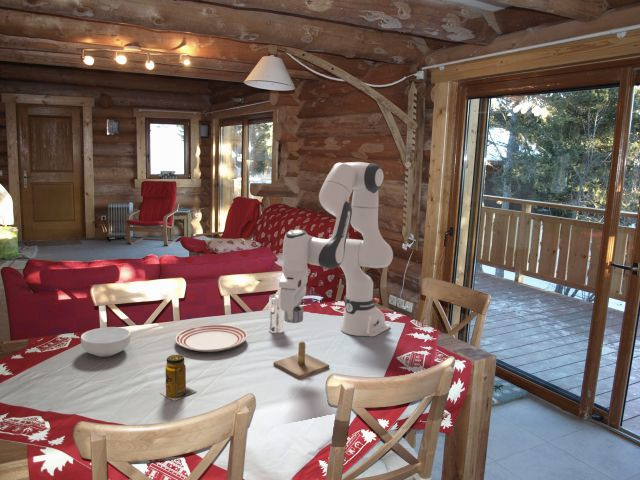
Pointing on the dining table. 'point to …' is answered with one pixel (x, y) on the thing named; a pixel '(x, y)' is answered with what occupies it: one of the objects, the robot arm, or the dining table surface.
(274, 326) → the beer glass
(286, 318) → the ring
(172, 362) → the condiment
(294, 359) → the wooden peg stand
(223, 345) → the dinner plate
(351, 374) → the dining table surface
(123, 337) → the cereal bowl
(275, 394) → the dining table surface
